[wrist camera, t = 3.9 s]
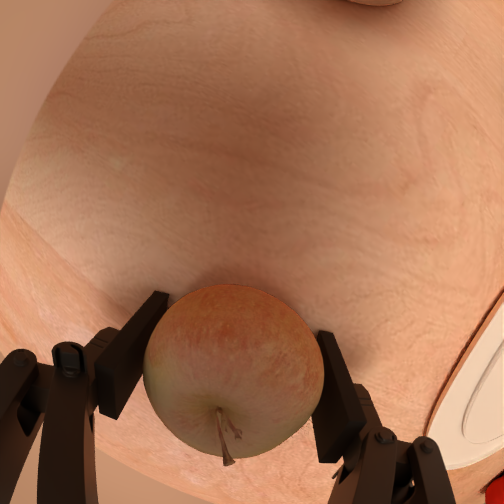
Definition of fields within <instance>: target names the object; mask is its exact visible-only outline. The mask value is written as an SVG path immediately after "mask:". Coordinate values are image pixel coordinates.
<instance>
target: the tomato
mask: <svg viewBox="0 0 504 504" xmlns="http://www.w3.org/2000/svg"><path fill="white" fill-rule="evenodd" d="M485 503H486V504H504V475H503V476H502V477H501V478H497V479H495V480H494V481H493V482H492V483H491V484H490V485H489V487H488V488H487V490H486V492H485Z"/></svg>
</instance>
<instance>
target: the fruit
mask: <svg viewBox="0 0 504 504" xmlns="http://www.w3.org/2000/svg"><path fill="white" fill-rule="evenodd" d="M143 382H144V386H145V390H146V393H147V395H148V398H149V400H150V403H151V405H152V407H153V409H154V411H155V412H156V414H157V415H158V417H159V418H160V419H161V421H162V422H163V423H164V425H165V426H166V427H167V428H168V429H169V430H170V431H171V432H172V433H173V434H174V435H175V436H176V437H177V438H178V439H180V440H181V441H182V442H184V443H186V444H187V445H189V446H190V447H192V448H194V449H196V450H198V451H200V452H203V453H207V454H210V455H215V456H219V457H223V465H224V466H229V465H232V464H233V463H235V461H234V460H233V459H232V458H248V457H253V456H257V455H260V454H262V453H265V452H267V451H269V450H272V449H273V448H275V447H276V446H278V445H280V444H281V443H282V442H284V441H285V440H286V439H288V438H289V437H290V436H292V435H293V434H294V433H295V432H297V431H298V430H299V429H300V428H301V427H302V426H303V425H304V424H305V423H306V422H307V421H308V419H309V418H310V416H311V415H312V414H313V412H314V410H315V408H316V407H317V405H318V403H319V400H320V397H321V393H322V389H323V383H324V365H323V358H322V355H321V351H320V348H319V345H318V343H317V341H316V339H315V337H314V335H313V333H312V332H311V330H310V329H309V327H308V326H307V325H306V323H305V322H304V321H303V320H302V319H301V318H300V316H299V315H298V314H297V313H296V312H294V311H293V310H292V309H291V308H290V307H288V306H287V305H286V304H284V303H283V302H282V301H280V300H279V299H277V298H275V297H274V296H272V295H270V294H268V293H265V292H263V291H261V290H258V289H255V288H252V287H248V286H241V285H235V284H223V285H214V286H209V287H205V288H201V289H199V290H196V291H194V292H192V293H189V294H187V295H186V296H184V297H183V298H181V299H180V300H178V301H177V302H176V303H175V304H174V305H172V306H171V307H170V308H169V309H168V310H167V312H166V313H165V314H164V315H163V317H162V318H161V319H160V321H159V322H158V324H157V325H156V327H155V329H154V331H153V333H152V335H151V337H150V340H149V342H148V345H147V347H146V351H145V354H144V359H143Z"/></svg>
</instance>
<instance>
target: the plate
mask: <svg viewBox="0 0 504 504" xmlns="http://www.w3.org/2000/svg"><path fill="white" fill-rule="evenodd" d="M426 437H429V438H431V439H433V440H434V441H435V442H436V443H437V445H438V446H439V449H440V452H441V455H442V458H443V461H444V464H445V467H446V470H453V469H459V468H463V467H466V466H469V465H472V464H474V463H477V462H479V461H481V460H483V459H485V458H487V457H489V456H490V455H492V454H494V453H495V452H497V451H499V450H500V449H502V448H503V447H504V293H503V294H502V296H501V297H500V299H499V300H498V301H497V303H496V304H495V306H494V308H493V309H492V311H491V312H490V314H489V315H488V317H487V318H486V320H485V321H484V323H483V324H482V326H481V327H480V329H479V331H478V332H477V334H476V335H475V337H474V339H473V340H472V342H471V343H470V345H469V347H468V348H467V350H466V352H465V353H464V355H463V356H462V358H461V360H460V362H459V363H458V365H457V367H456V368H455V370H454V372H453V374H452V375H451V377H450V379H449V381H448V383H447V384H446V386H445V388H444V390H443V392H442V394H441V396H440V398H439V400H438V402H437V404H436V407H435V409H434V411H433V413H432V416H431V419H430V421H429V424H428V428H427V432H426Z"/></svg>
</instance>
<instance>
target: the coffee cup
mask: <svg viewBox="0 0 504 504" xmlns="http://www.w3.org/2000/svg"><path fill="white" fill-rule="evenodd" d="M349 1H352V2H356V3H361V4H365V5H374V6H386V5H392V4H396V3H399V2H401V1H403V0H349Z"/></svg>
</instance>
